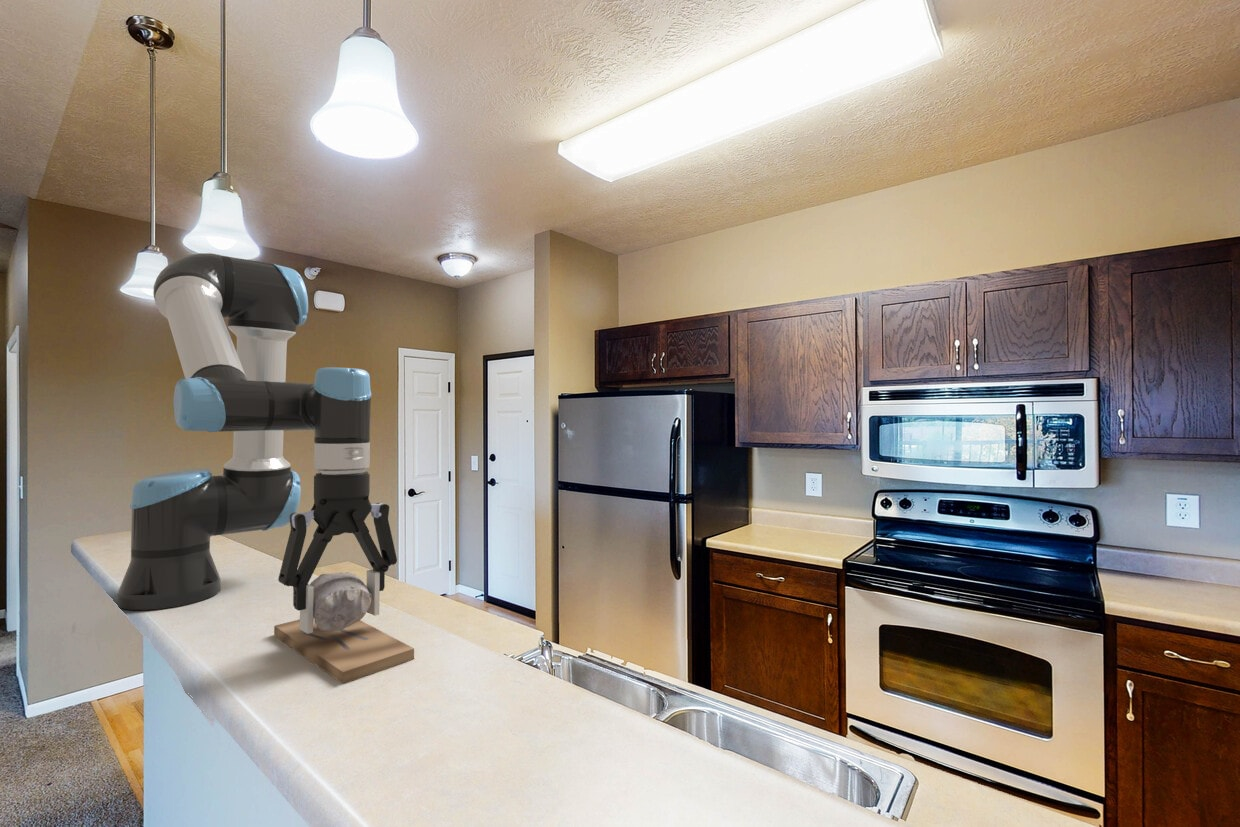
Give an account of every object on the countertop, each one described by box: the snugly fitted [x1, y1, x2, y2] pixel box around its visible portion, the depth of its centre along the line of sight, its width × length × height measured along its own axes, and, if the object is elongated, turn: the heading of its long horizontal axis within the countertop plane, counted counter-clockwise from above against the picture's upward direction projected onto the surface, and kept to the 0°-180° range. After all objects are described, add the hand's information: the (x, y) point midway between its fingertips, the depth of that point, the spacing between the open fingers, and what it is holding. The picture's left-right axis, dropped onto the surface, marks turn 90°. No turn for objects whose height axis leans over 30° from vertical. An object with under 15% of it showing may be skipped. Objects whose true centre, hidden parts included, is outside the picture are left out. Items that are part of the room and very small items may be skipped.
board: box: [273, 617, 415, 684], centre depth 86 cm, size 24×10×2 cm, turn 50°
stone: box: [309, 572, 372, 632], centre depth 86 cm, size 8×12×7 cm, turn 36°
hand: (340, 621), depth 86 cm, fingers closed on stone, 9 cm apart
